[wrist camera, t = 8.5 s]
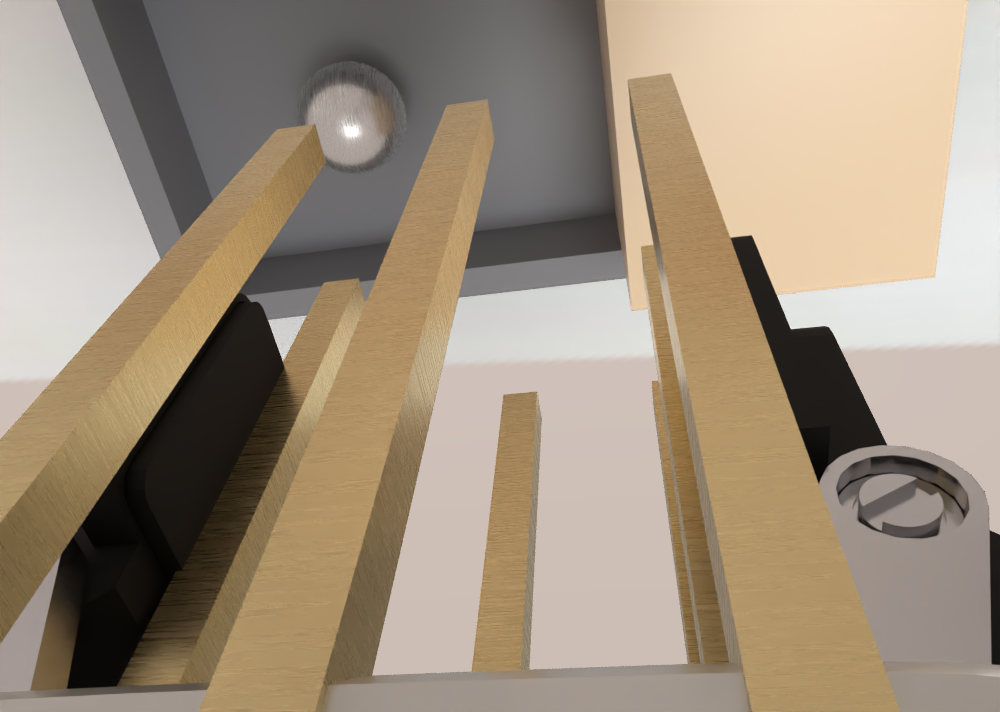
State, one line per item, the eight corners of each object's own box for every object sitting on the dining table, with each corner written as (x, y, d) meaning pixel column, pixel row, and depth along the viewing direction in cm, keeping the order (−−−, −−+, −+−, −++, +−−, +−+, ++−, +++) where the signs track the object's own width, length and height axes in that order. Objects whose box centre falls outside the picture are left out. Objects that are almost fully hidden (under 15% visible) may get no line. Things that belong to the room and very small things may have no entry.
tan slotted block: (276, 129, 13) (-413, 900, 4) (671, 73, 12) (967, 901, 3) (370, 432, 16) (112, 1247, 7) (688, 406, 15) (858, 1295, 6)
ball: (397, 42, 27) (294, 59, 27) (387, 67, 24) (271, 86, 24) (419, 145, 29) (322, 161, 29) (412, 181, 26) (303, 198, 26)
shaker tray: (102, -65, 26) (-53, -29, 20) (905, -210, 23) (1048, -226, 17) (226, 277, 33) (140, 394, 26) (874, 196, 30) (970, 305, 23)
